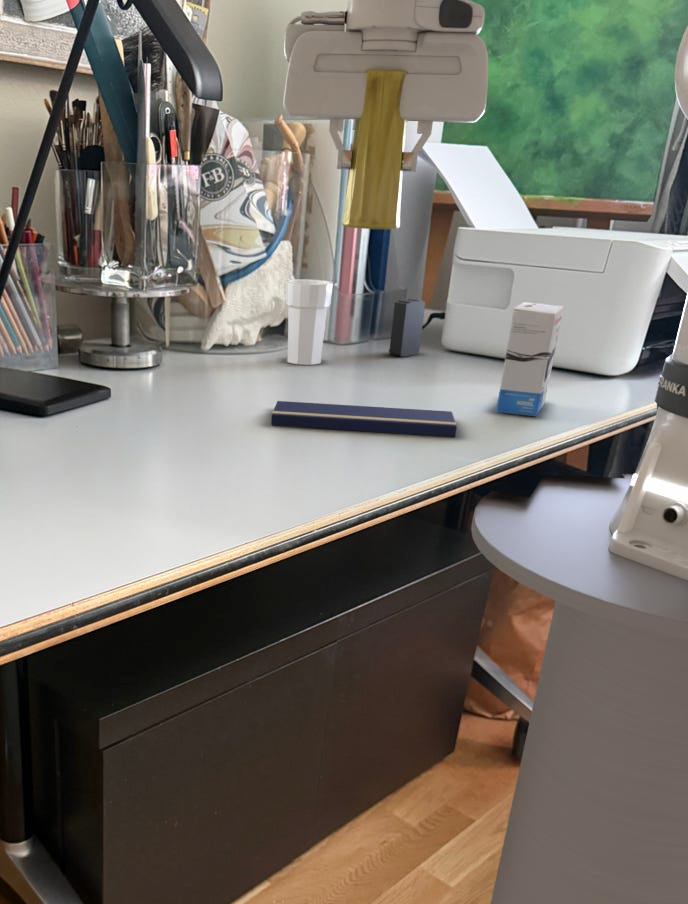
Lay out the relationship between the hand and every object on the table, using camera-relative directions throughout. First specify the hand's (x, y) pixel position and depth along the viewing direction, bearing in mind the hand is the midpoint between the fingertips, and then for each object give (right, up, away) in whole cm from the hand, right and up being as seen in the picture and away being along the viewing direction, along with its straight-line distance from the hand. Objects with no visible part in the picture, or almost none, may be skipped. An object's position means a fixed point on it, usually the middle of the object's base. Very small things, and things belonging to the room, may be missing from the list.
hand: (376, 170), depth 98 cm
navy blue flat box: (0, -25, +7) cm, 26 cm away
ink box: (+21, -21, +16) cm, 34 cm away
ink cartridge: (+13, -5, +47) cm, 49 cm away
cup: (-3, -8, +40) cm, 41 cm away
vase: (0, -5, +3) cm, 6 cm away
